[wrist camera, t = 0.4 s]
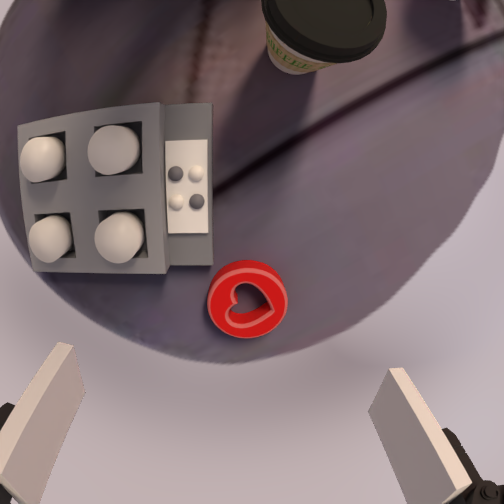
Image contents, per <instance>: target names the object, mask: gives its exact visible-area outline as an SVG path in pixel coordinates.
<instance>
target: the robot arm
mask: <svg viewBox="0 0 504 504" xmlns="http://www.w3.org/2000/svg"><path fill="white" fill-rule="evenodd" d="M84 395H85V389H84V385H83V382H82V378H81V374H80V370H79V366H78V362H77V358H76V353H75V349H74V345H70V344H65V343H61V342H58V343H57V344H56V346H55V347H54V348H53V350H52V351H51V353H50V354H49V356H48V357H47V358H46V360H45V361H44V363H43V364H42V366H41V367H40V369H39V370H38V372H37V373H36V375H35V376H34V378H33V379H32V381H31V382H30V384H29V385H28V387H27V388H26V390H25V391H24V393H23V395H22V396H21V398H20V399H19V401H18V403H17V404H16V406H15V405H13V404H10V403H6V404H4V405H3V406H2V407H1V408H0V504H11V503H10V501H11V498H12V497H13V498H14V499H15V500H16V501H17V502H18V503H19V504H39V503H40V501H41V498H42V495H43V492H44V489H45V487H46V484H47V481H48V479H49V476H50V474H51V471H52V468H53V466H54V463H55V461H56V458H57V456H58V453H59V451H60V448H61V446H62V444H63V442H64V439H65V437H66V434H67V432H68V430H69V428H70V425H71V423H72V421H73V419H74V416H75V414H76V412H77V409H78V407H79V405H80V403H81V401H82V399H83V397H84ZM368 412H369V414H370V417H371V419H372V421H373V424H374V426H375V428H376V430H377V433H378V435H379V437H380V440H381V442H382V444H383V447H384V449H385V451H386V453H387V456H388V458H389V461H390V463H391V465H392V468H393V470H394V472H395V475H396V477H397V480H398V482H399V484H400V487H401V489H402V492H403V494H404V497H405V499H406V502H407V504H504V485H498V486H497V485H496V484H495V483H494V482H492V481H486V480H485V481H483V480H482V478H481V477H480V475H479V474H478V472H477V470H476V468H475V467H474V465H473V463H472V461H471V460H470V458H469V456H468V455H467V453H465V450H464V448H463V446H461V443H460V441H459V440H458V438H457V437H456V435H455V434H454V433H453V432H451V431H450V430H449V429H448V428H444V429H441V427H440V426H439V424H438V423H437V421H436V419H435V418H434V416H433V414H432V413H431V411H430V410H429V408H428V407H427V405H426V403H425V402H424V400H423V399H422V397H421V395H420V394H419V392H418V390H417V389H416V387H415V386H414V384H413V383H412V381H411V380H410V378H409V376H408V375H407V373H406V372H405V370H404V369H403V368H393V369H388V371H387V374H386V376H385V378H384V380H383V382H382V384H381V386H380V389H379V391H378V392H377V395H376V397H375V399H374V401H373V403H372V405H371V406H370V408H369V411H368Z"/></svg>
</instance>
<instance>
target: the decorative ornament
mask: <svg viewBox="0 0 504 504" xmlns="http://www.w3.org/2000/svg"><path fill="white" fill-rule="evenodd" d="M243 283H249V284H252V285H254V286H255V287H256V288H258V289H259V290H260V291H261V292H262V293H263V295H264V296H265V298H266V299H267V302H266V303H265V304H263V305H262V306H260V307H258V308H257V309H255V310H253V311H251V312H248V313H244V314H238V313H234V312H232V311H231V310H230V309H231V307H232V306H234V305H235V304H237V303H238V298H237V293H236V291H235V288H236V287H237V286H238V285H240V284H243ZM287 305H288V299H287V294H286V291H285V288H284V285H283V282H282V280H281V278H280V276H279V275H278V274H277V272H276V271H275V270H274V269H272V268H271V267H270V266H268V265H266V264H264V263H261V262H258V261H252V260H242V261H236V262H233V263H230V264H228V265H226V266H224V267H223V268H222V269H220V270H219V271H218V272H217V273H216V275H215V276H214V278H213V279H212V282H211V284H210V287H209V292H208V299H207V308H208V313H209V316H210V318H211V320H212V321H213V323H214V324H215V325H216V326H217V327H218V328H219V329H220V330H221V331H223V332H225V333H226V334H228V335H231V336H234V337H237V338H255V337H259V336H263V335H265V334H267V333H269V332H270V331H272V330H273V329H274V328H276V327H277V326H278V325H279V324H280V322H281V321H282V320H283V318H284V316H285V314H286V311H287Z"/></svg>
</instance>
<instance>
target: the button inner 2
mask: <svg viewBox="0 0 504 504" xmlns="http://www.w3.org/2000/svg"><path fill="white" fill-rule="evenodd" d="M87 153H88V159H89V162H90V164H91V165H92V167H93V168H94V169H95V170H96V171H97V172H99V173H101V174H104V175H112V174H116V173H119V172H123V171H126V170H128V169H130V168H131V167H133V166H134V165H135V164H136V162H137V161H138V159H139V157H140V154H141V142H140V139H139V137H138V135H137V134H136V133H135V131H133V130H132V129H130V128H128V127H123V126H114V125H108V126H104V127H102V128H100V129H99V130H97V131H96V132H95V133H94V134H93V136H92V137H91V139H90V141H89V144H88V151H87Z"/></svg>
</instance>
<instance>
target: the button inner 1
mask: <svg viewBox="0 0 504 504" xmlns="http://www.w3.org/2000/svg"><path fill="white" fill-rule="evenodd" d="M65 164H66V148H65V146H64V144H63V142H62V141H61V140H60V139H58V138H56V137H36V138H33V139H31V140H29V141H28V142H27V143H26V144H25V146H24V147H23V149H22V152H21V156H20V166H21V170H22V173H23V175H24V176H25V177H26V178H27V179H28V180H29V181H31V182H41V181H44V180H48V179H52V178H55V177H57V176H58V175H59V174H60V173H61V172H62V171H63V169H64V167H65Z"/></svg>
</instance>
